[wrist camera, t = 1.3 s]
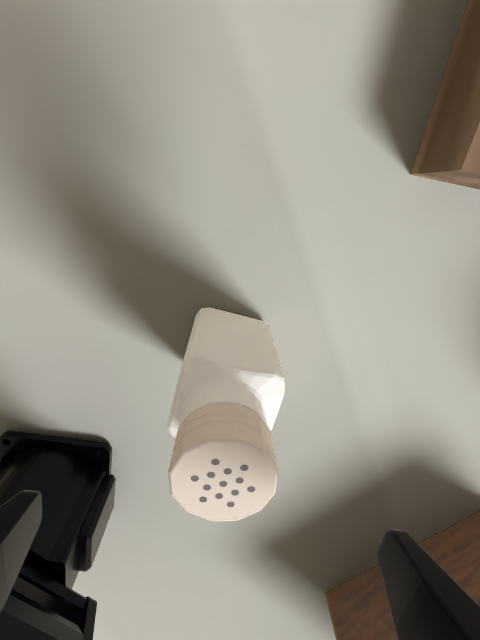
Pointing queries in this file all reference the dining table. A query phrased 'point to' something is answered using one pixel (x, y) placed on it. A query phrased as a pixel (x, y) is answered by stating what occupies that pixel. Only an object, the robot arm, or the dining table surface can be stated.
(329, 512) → the dining table surface
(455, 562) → the tissue box cover
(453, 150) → the socket block
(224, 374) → the salt shaker
